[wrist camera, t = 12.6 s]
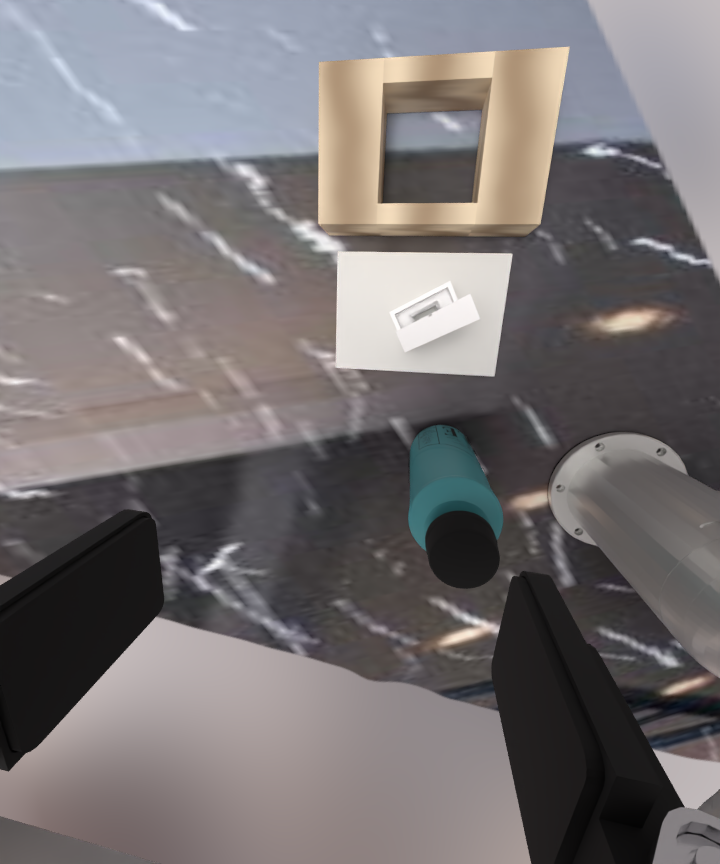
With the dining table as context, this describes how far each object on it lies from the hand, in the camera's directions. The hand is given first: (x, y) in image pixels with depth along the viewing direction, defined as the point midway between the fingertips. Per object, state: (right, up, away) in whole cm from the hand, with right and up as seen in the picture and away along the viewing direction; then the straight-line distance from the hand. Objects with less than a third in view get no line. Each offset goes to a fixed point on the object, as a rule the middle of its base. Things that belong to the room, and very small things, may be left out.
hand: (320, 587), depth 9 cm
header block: (+7, +28, +22) cm, 36 cm away
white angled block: (+7, +15, +25) cm, 30 cm away
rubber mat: (+7, +16, +26) cm, 31 cm away
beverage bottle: (+10, +2, +29) cm, 31 cm away
